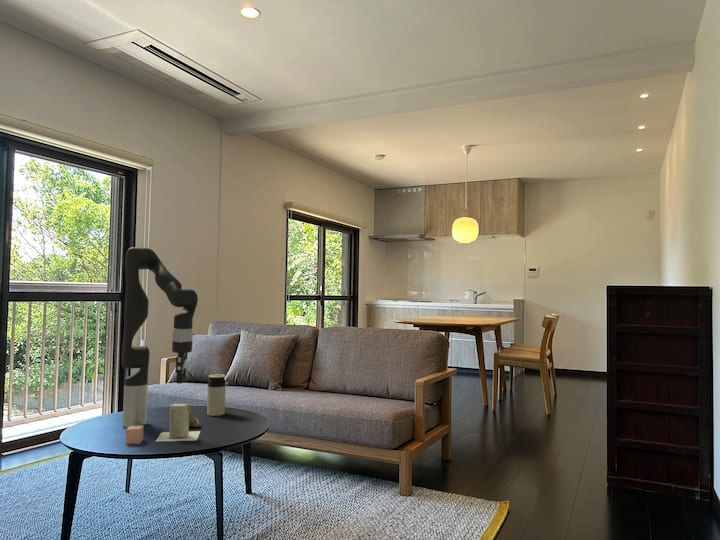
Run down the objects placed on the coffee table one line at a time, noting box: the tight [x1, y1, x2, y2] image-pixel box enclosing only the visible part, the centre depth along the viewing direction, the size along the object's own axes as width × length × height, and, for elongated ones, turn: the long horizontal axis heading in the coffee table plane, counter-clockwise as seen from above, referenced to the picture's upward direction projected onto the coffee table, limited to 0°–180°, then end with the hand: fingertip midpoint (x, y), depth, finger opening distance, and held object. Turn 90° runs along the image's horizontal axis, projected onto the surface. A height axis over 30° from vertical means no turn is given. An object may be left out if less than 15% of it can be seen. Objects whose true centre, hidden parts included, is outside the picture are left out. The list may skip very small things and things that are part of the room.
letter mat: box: [154, 430, 201, 443], centre depth 207 cm, size 13×15×1 cm
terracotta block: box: [125, 425, 144, 445], centre depth 198 cm, size 5×5×6 cm
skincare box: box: [168, 403, 190, 437], centre depth 207 cm, size 6×4×12 cm
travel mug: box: [206, 373, 227, 417], centre depth 246 cm, size 8×8×18 cm
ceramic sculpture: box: [189, 408, 200, 428], centre depth 222 cm, size 11×9×15 cm
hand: (181, 381), depth 207 cm, fingers open, 8 cm apart
